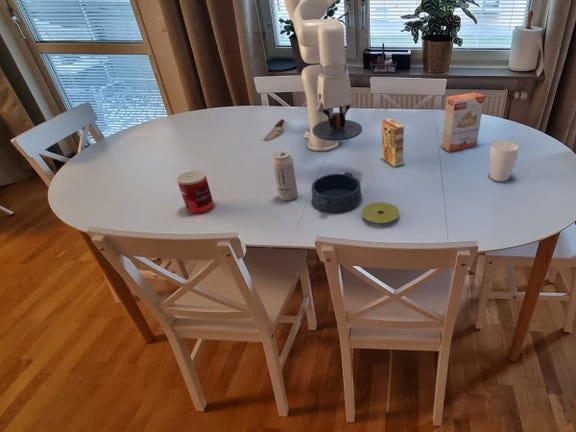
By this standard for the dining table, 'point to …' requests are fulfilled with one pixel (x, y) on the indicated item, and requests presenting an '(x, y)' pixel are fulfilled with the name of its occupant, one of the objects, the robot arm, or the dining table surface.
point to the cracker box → (462, 121)
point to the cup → (502, 159)
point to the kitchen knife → (275, 131)
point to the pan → (336, 193)
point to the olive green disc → (380, 212)
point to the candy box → (392, 142)
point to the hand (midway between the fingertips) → (337, 126)
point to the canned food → (195, 192)
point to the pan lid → (337, 129)
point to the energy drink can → (285, 176)
